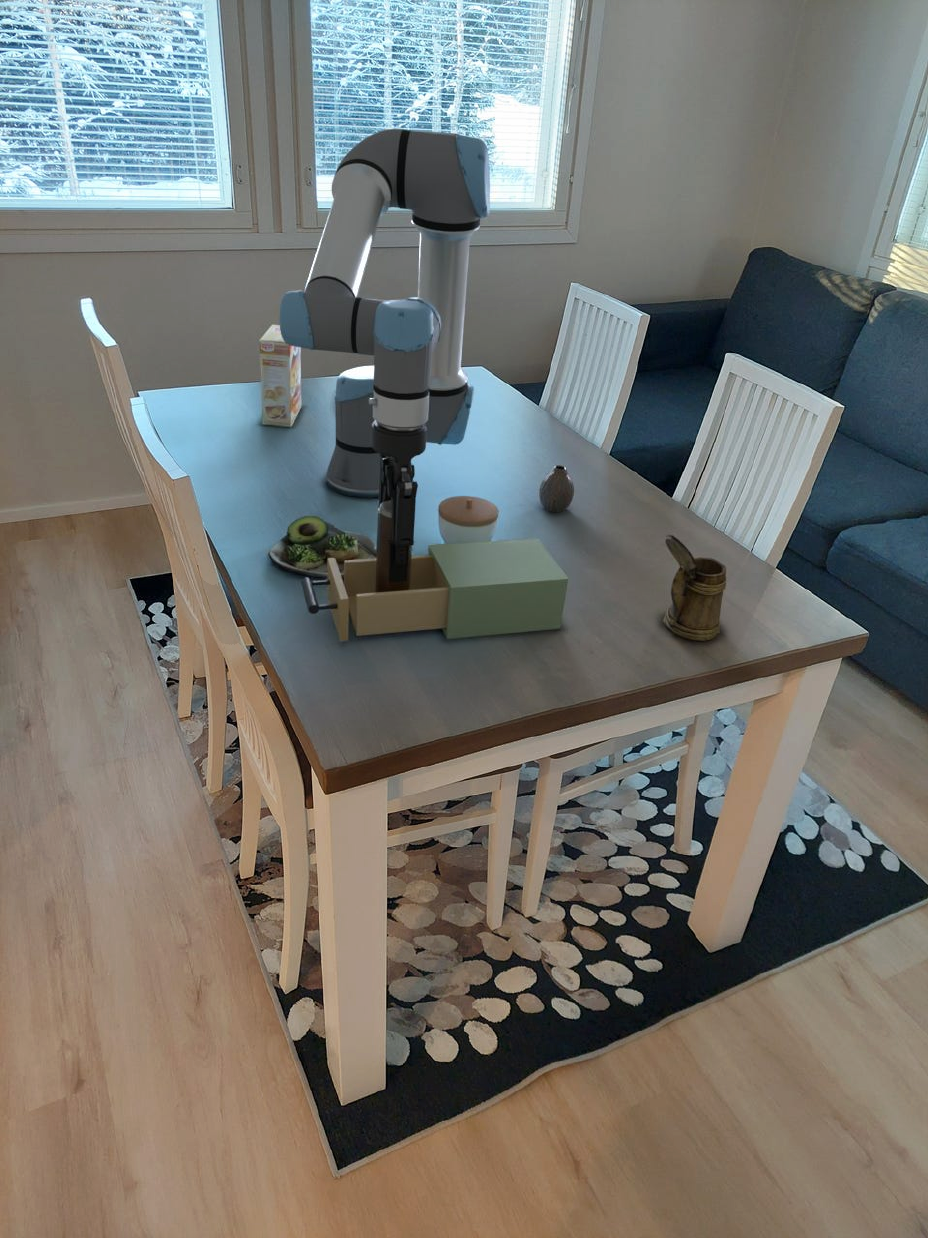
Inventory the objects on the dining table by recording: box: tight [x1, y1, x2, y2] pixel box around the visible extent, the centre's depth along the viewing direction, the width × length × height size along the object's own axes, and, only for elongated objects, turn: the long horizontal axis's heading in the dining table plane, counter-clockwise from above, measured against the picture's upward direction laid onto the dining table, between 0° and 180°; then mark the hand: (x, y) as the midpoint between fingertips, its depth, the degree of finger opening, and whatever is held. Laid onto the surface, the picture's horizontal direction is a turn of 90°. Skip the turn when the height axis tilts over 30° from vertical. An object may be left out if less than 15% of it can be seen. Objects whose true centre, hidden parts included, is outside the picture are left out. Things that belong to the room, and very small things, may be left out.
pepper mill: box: [375, 500, 413, 593], centre depth 129 cm, size 5×5×19 cm
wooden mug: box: [663, 534, 728, 642], centre depth 135 cm, size 9×14×18 cm, turn 118°
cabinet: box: [427, 537, 569, 640], centre depth 137 cm, size 19×14×9 cm
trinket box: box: [437, 495, 500, 544], centre depth 155 cm, size 11×11×9 cm
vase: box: [538, 464, 575, 513], centre depth 173 cm, size 7×7×9 cm
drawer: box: [300, 554, 450, 642], centre depth 132 cm, size 22×12×7 cm, turn 106°
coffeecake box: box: [258, 324, 302, 428], centre depth 202 cm, size 15×7×20 cm, turn 179°
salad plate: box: [267, 515, 377, 579], centre depth 149 cm, size 19×18×5 cm
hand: (393, 570), depth 130 cm, fingers closed on pepper mill, 5 cm apart
